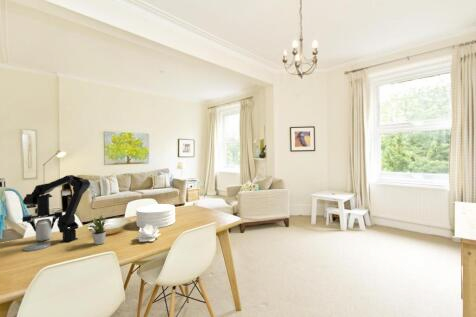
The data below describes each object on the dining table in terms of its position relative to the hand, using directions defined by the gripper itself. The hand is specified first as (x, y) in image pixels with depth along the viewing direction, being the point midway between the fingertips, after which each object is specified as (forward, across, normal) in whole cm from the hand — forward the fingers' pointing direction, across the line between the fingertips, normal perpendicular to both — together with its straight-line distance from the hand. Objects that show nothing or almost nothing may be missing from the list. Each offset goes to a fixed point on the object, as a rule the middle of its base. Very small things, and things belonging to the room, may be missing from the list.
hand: (43, 230), depth 145 cm
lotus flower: (+7, -52, +38) cm, 65 cm away
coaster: (+6, +2, +12) cm, 14 cm away
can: (+6, 0, 0) cm, 6 cm away
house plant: (+6, -26, +26) cm, 37 cm away
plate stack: (+7, -67, +5) cm, 68 cm away
